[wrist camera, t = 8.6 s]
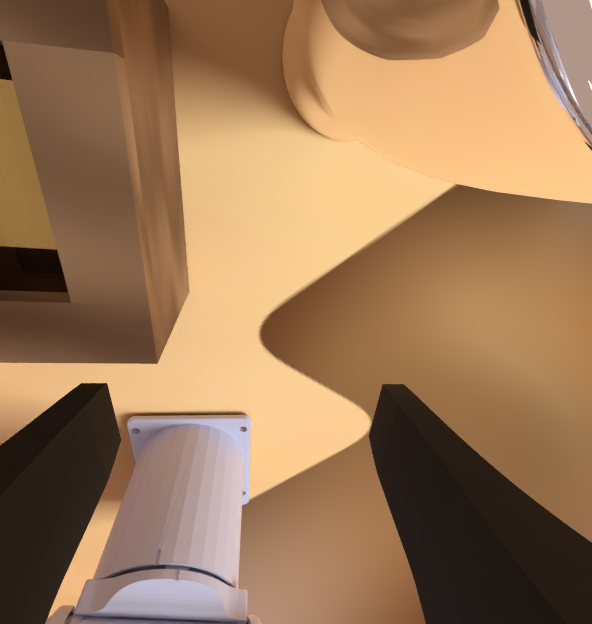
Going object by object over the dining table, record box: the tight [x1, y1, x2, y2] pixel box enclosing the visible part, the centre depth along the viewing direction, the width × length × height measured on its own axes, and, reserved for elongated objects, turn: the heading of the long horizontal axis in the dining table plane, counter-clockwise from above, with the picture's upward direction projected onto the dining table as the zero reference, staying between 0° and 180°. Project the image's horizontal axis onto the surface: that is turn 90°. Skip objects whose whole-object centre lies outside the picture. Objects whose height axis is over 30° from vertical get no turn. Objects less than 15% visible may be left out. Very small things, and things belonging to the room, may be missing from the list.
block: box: [0, 79, 57, 250], centre depth 13 cm, size 5×2×5 cm, turn 174°
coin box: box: [0, 0, 189, 364], centre depth 12 cm, size 12×9×6 cm
